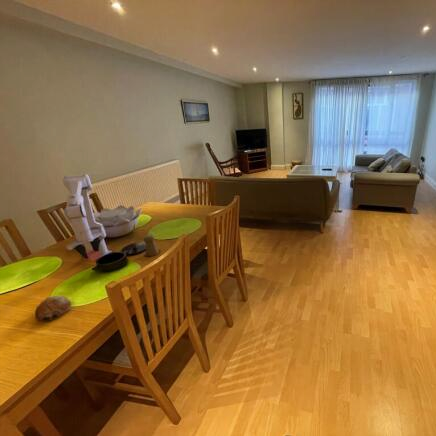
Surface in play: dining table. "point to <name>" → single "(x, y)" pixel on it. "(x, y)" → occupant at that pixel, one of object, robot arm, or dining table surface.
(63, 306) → the bread roll
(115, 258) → the pan
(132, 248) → the pan lid
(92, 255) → the reddish pink block
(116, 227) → the decorative bowl
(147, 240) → the cork
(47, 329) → the dining table surface
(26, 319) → the dining table surface
